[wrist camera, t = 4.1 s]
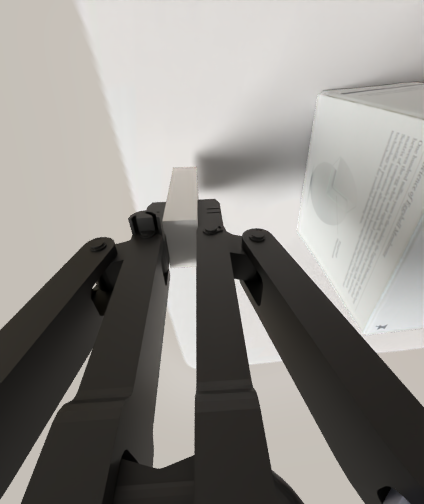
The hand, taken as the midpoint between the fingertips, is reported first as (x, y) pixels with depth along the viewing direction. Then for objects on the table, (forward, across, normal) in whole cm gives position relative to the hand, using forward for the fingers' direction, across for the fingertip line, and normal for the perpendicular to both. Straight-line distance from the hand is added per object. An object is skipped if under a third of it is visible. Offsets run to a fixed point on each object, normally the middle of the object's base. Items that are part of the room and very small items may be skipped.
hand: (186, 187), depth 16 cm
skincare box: (+2, +12, 0) cm, 12 cm away
